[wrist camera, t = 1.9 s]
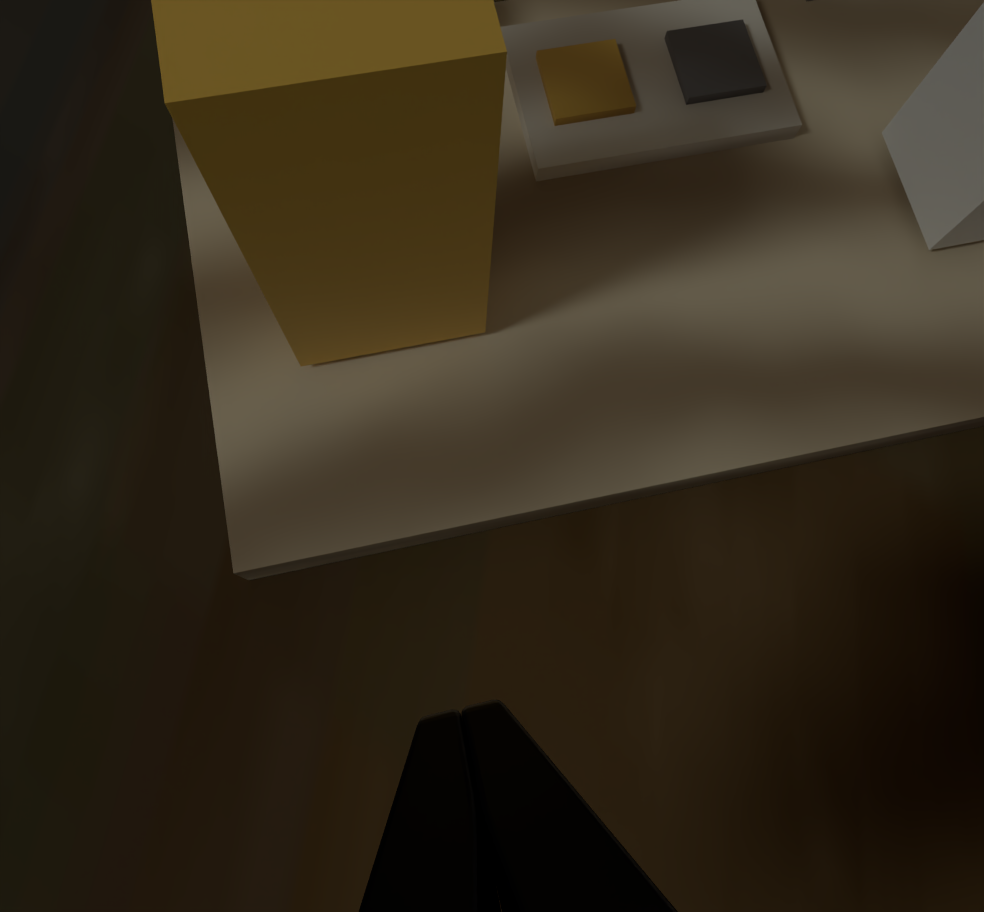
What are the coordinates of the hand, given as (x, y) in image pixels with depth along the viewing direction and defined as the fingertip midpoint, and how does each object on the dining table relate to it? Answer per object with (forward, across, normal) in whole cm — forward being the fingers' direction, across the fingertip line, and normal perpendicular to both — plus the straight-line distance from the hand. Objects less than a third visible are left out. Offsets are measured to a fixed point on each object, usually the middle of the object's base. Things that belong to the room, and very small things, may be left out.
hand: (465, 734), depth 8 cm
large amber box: (+16, 0, 0) cm, 16 cm away
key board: (+18, -9, 0) cm, 20 cm away
